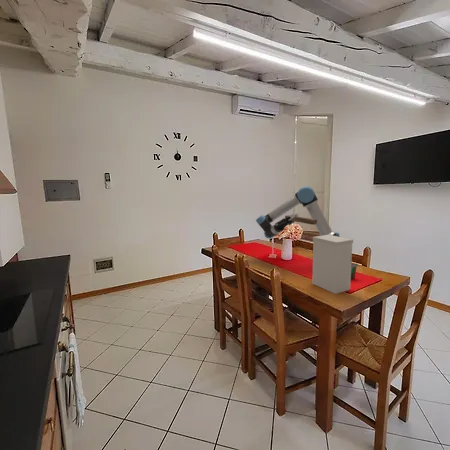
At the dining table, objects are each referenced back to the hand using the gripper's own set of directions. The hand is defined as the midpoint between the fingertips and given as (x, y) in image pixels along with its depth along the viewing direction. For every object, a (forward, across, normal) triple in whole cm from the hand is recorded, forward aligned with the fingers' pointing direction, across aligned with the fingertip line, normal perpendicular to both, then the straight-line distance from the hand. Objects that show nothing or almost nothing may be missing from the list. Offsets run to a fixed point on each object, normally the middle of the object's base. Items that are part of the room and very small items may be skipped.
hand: (295, 215), depth 184 cm
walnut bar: (+2, 0, -6) cm, 6 cm away
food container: (+1, -21, -48) cm, 53 cm away
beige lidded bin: (+8, 0, -51) cm, 52 cm away
